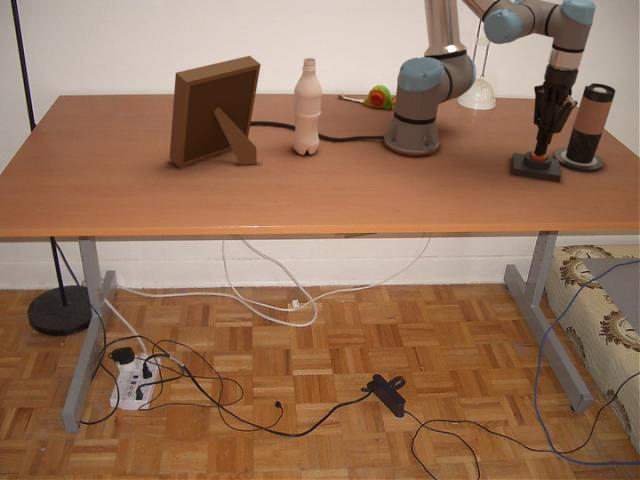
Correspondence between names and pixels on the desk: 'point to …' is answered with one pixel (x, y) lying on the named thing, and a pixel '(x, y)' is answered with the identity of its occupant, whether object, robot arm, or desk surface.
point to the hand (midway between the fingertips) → (539, 153)
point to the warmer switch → (535, 167)
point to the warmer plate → (581, 167)
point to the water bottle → (307, 109)
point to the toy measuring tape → (376, 98)
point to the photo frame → (214, 111)
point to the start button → (538, 157)
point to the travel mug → (590, 122)
